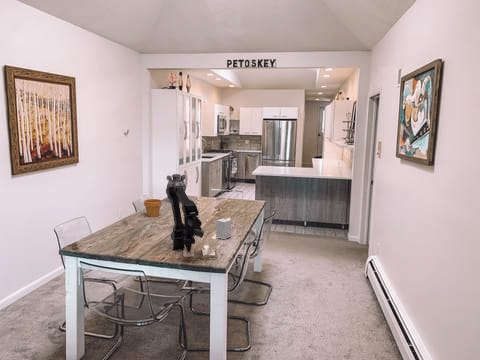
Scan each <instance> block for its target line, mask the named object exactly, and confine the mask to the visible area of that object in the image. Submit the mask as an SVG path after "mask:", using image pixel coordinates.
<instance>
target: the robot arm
mask: <svg viewBox="0 0 480 360" xmlns="http://www.w3.org/2000/svg"><path fill="white" fill-rule="evenodd" d="M165 193H166V195H167V198H168V200H169V201H170V204H171V211H172V216H173V223H174V225H173V227H172V232H171V234H170V239H171V240H172V241H173V243H172V244H173V245H172V246H173V247H172V251H184V250H186V249H187V251H188V252H190V249H191V245H195V244H196V238H195V236H196V237H199V238H200V239H202V238H203V237H204V234H205V231H204V230H203V229H202V221H201V219H200V218H199V214H200V213H199V209H198V207H197V205H196V203H195V202H194V201H193V200H192V199H189V196H188V195H187V193H186V190H185V191H184V190H183V186H181V185H180V186H172V187H168V188H167V187H166V189H165ZM179 200H180V201H181V203H179ZM180 204H181V207H180ZM181 210H182V212H181ZM182 213H183V214H182ZM182 216H183V219H182Z"/></svg>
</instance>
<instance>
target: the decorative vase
mask: <svg viewBox="0 0 480 360" xmlns="http://www.w3.org/2000/svg"><path fill="white" fill-rule="evenodd" d="M185 180H186V175H185V174H182V175H181V174H178V173H173V174H172V175H166V181H168V182H167V185H166V189H167V188H168V187H172V186H180V185H181V186H183V190H184V191H185V192H186V190H187V189H186V188H187V187H186V183H185ZM179 202H181V201H180V200H179Z"/></svg>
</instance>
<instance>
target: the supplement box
mask: <svg viewBox="0 0 480 360" xmlns="http://www.w3.org/2000/svg"><path fill="white" fill-rule="evenodd" d="M215 222H216V232H215V233H216V234H215V237H219V238H223V239H225V238H228V237H231V238H232V220H231V219H227V218H220V219H216V221H215Z"/></svg>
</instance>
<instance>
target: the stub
mask: <svg viewBox="0 0 480 360" xmlns="http://www.w3.org/2000/svg"><path fill="white" fill-rule="evenodd" d="M192 245H193V244H192ZM192 245H191V249H190V252H188V251H187V249H186V248H185V249H184V250H183V257H184V258H185V257H191V256H194V249H193V248H192Z"/></svg>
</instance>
